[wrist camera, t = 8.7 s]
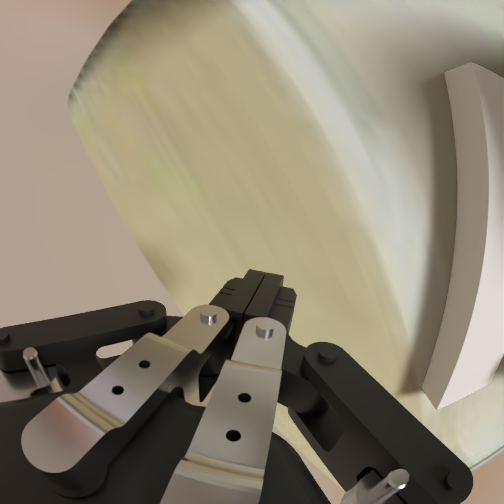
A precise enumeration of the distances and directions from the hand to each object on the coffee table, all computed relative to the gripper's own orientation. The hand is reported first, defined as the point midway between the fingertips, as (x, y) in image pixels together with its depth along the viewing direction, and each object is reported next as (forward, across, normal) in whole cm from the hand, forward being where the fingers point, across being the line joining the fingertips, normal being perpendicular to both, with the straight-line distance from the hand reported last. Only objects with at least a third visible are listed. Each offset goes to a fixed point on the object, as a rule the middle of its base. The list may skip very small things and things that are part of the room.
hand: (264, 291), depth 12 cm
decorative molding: (+14, -21, -1) cm, 25 cm away
